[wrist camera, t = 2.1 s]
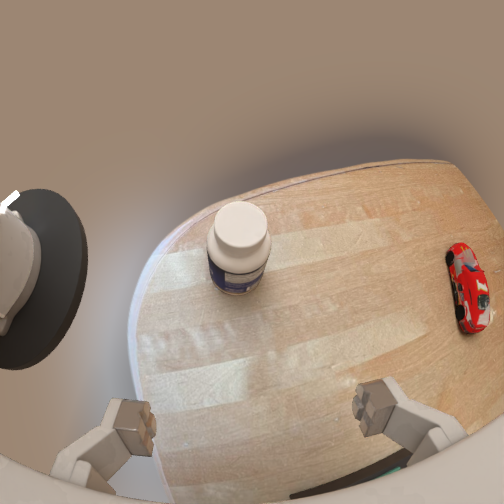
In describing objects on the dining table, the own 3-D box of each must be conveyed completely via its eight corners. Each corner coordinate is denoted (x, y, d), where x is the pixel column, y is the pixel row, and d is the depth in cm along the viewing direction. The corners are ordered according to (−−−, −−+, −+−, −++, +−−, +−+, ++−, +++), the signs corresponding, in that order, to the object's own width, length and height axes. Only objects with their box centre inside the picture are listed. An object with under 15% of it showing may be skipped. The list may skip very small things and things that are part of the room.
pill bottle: (208, 249, 30) (203, 194, 21) (258, 246, 31) (271, 191, 22) (211, 298, 28) (205, 258, 19) (264, 294, 29) (283, 253, 20)
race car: (441, 245, 34) (457, 231, 30) (464, 249, 34) (480, 237, 31) (455, 336, 28) (476, 328, 24) (479, 333, 28) (498, 326, 25)
